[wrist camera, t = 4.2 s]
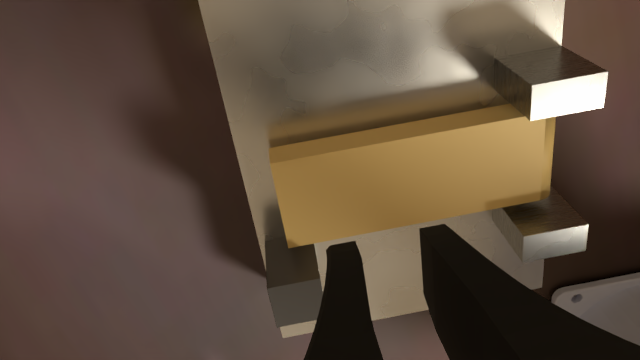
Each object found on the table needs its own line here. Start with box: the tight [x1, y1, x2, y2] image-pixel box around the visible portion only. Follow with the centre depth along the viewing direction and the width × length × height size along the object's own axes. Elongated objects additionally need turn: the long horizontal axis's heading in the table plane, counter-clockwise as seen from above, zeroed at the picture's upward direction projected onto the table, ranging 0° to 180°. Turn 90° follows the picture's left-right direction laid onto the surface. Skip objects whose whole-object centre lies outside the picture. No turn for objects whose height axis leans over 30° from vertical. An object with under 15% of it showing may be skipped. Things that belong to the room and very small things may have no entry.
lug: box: [265, 237, 323, 328], centre depth 18 cm, size 2×2×2 cm
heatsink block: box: [198, 0, 608, 338], centre depth 18 cm, size 10×13×5 cm
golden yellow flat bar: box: [269, 104, 556, 248], centre depth 17 cm, size 8×3×1 cm, turn 98°
